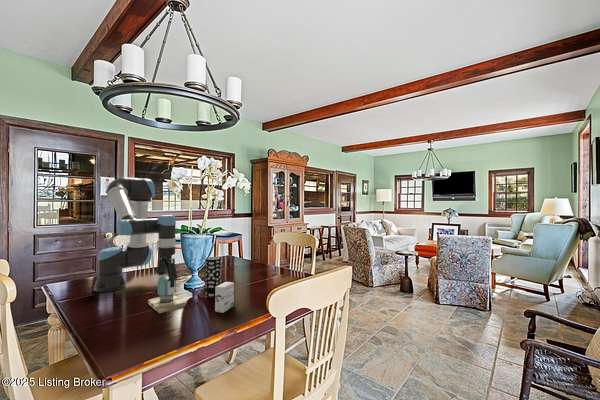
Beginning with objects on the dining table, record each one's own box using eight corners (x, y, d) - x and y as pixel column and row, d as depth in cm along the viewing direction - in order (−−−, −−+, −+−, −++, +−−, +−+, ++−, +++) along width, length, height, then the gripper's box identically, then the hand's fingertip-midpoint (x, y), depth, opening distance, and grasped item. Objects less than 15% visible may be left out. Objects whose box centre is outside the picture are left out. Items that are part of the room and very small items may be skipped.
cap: (154, 295, 131) (154, 280, 131) (163, 290, 139) (163, 276, 139) (170, 295, 131) (170, 280, 131) (178, 290, 138) (178, 276, 138)
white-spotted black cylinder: (202, 295, 149) (202, 258, 149) (216, 291, 155) (216, 256, 155) (210, 299, 143) (210, 260, 143) (224, 295, 149) (224, 258, 149)
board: (147, 303, 136) (147, 299, 136) (172, 297, 145) (173, 294, 145) (159, 313, 125) (159, 308, 125) (185, 306, 133) (185, 302, 133)
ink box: (226, 305, 136) (226, 280, 136) (234, 306, 134) (234, 282, 134) (214, 311, 128) (214, 285, 128) (223, 313, 126) (223, 287, 126)
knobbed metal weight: (157, 300, 135) (157, 287, 135) (170, 297, 139) (170, 285, 139) (162, 304, 131) (162, 290, 131) (175, 301, 135) (175, 287, 135)
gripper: (150, 244, 141) (150, 286, 141) (168, 250, 124) (167, 298, 124) (166, 243, 146) (165, 283, 146) (184, 248, 129) (184, 295, 129)
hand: (166, 290), depth 135 cm, fingers open, 12 cm apart
